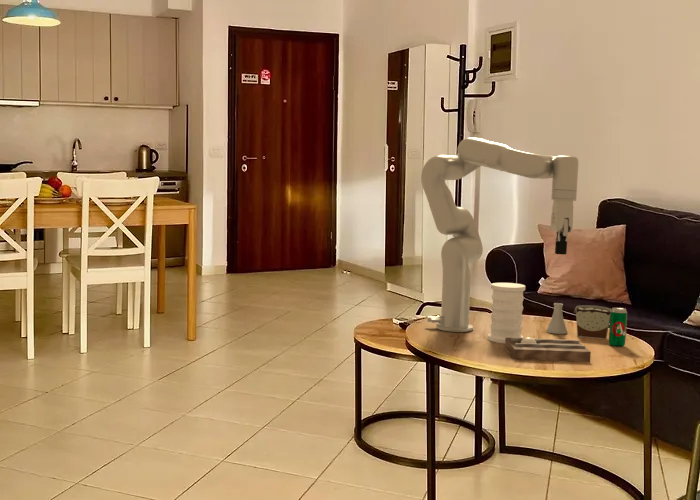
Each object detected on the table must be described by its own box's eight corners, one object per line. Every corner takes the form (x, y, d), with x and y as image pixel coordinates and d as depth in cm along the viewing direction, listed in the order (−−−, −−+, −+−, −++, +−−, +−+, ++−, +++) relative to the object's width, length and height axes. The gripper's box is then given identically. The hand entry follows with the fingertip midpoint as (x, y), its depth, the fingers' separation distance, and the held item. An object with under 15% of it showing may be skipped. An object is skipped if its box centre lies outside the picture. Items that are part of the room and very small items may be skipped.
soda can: (613, 343, 261) (616, 306, 260) (628, 346, 257) (630, 309, 256) (605, 345, 257) (607, 308, 256) (619, 348, 254) (622, 310, 252)
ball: (519, 342, 239) (535, 337, 239) (516, 338, 244) (532, 333, 244) (524, 357, 240) (540, 352, 239) (521, 353, 245) (537, 348, 244)
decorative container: (501, 344, 253) (504, 288, 251) (480, 337, 264) (483, 283, 262) (531, 342, 258) (534, 287, 256) (509, 335, 269) (512, 281, 267)
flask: (565, 331, 279) (567, 302, 278) (569, 335, 272) (571, 306, 270) (544, 330, 279) (546, 301, 278) (547, 334, 272) (549, 305, 271)
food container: (611, 336, 272) (613, 307, 271) (611, 339, 266) (613, 309, 265) (573, 332, 276) (575, 303, 275) (572, 336, 270) (574, 306, 269)
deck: (514, 359, 234) (514, 346, 234) (505, 347, 250) (505, 335, 250) (590, 361, 234) (590, 349, 233) (576, 349, 250) (576, 337, 249)
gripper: (546, 194, 258) (543, 251, 260) (557, 196, 243) (554, 256, 245) (570, 195, 258) (566, 252, 260) (582, 196, 243) (578, 257, 245)
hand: (560, 253), depth 253 cm, fingers closed
